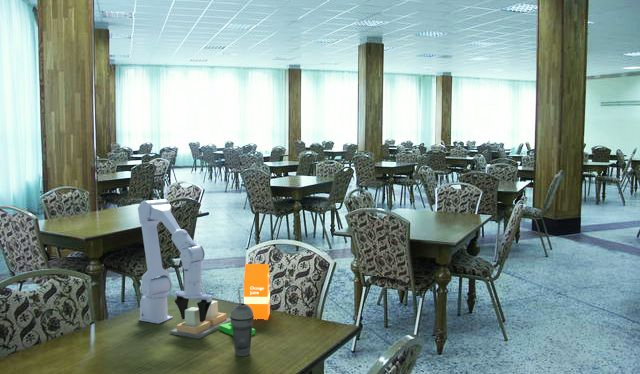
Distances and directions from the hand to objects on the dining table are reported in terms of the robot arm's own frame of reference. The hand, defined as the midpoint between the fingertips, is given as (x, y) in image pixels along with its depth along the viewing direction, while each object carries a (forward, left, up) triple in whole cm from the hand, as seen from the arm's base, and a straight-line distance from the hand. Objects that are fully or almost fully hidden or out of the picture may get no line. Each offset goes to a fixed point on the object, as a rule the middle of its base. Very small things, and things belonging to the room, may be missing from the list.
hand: (193, 319), depth 198 cm
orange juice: (+11, +24, -4) cm, 27 cm away
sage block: (0, 0, -3) cm, 3 cm away
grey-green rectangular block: (0, +10, -3) cm, 10 cm away
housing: (0, +5, -4) cm, 7 cm away
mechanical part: (+14, +6, -5) cm, 16 cm away
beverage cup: (+26, -10, -4) cm, 28 cm away
